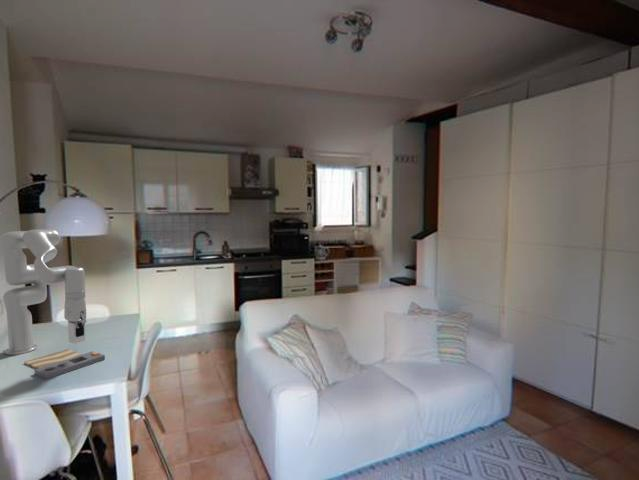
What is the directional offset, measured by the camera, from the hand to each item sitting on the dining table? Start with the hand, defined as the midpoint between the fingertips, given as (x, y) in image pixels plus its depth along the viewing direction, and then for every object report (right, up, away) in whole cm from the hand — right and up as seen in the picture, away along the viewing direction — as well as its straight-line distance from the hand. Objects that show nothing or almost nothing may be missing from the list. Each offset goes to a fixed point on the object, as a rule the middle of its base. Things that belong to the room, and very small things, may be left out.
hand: (76, 334), depth 166 cm
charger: (0, -3, 0) cm, 3 cm away
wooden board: (-14, -13, +6) cm, 20 cm away
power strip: (-1, -14, -2) cm, 14 cm away
